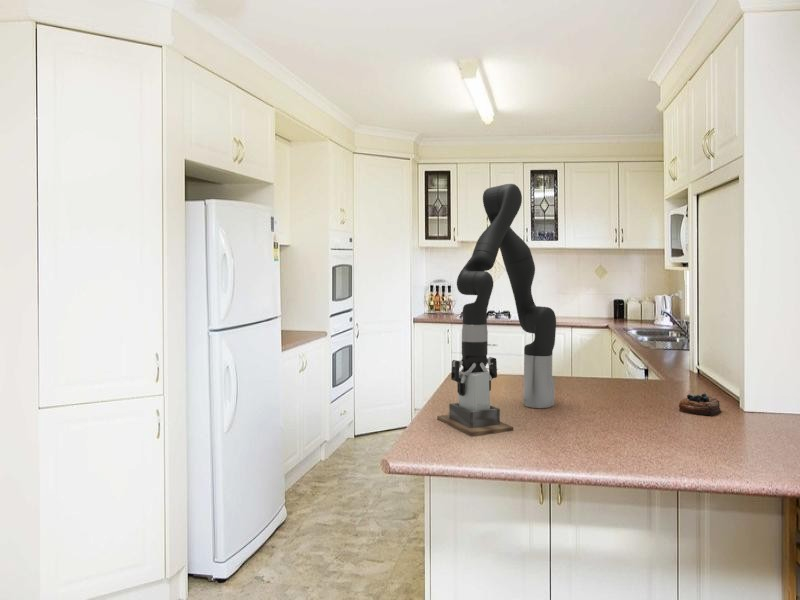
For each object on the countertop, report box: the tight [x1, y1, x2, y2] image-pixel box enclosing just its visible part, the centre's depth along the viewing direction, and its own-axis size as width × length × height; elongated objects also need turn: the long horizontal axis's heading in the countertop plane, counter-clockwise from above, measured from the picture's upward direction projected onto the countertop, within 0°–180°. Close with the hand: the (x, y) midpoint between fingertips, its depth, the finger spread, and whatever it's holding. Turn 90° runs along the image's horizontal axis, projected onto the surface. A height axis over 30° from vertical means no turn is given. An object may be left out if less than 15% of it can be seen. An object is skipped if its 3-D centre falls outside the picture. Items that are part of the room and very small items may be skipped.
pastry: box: [678, 393, 722, 417], centre depth 193 cm, size 11×12×6 cm
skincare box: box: [457, 371, 491, 411], centre depth 177 cm, size 8×6×15 cm
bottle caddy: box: [436, 402, 514, 437], centre depth 177 cm, size 14×20×6 cm
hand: (474, 394), depth 177 cm, fingers open, 8 cm apart
